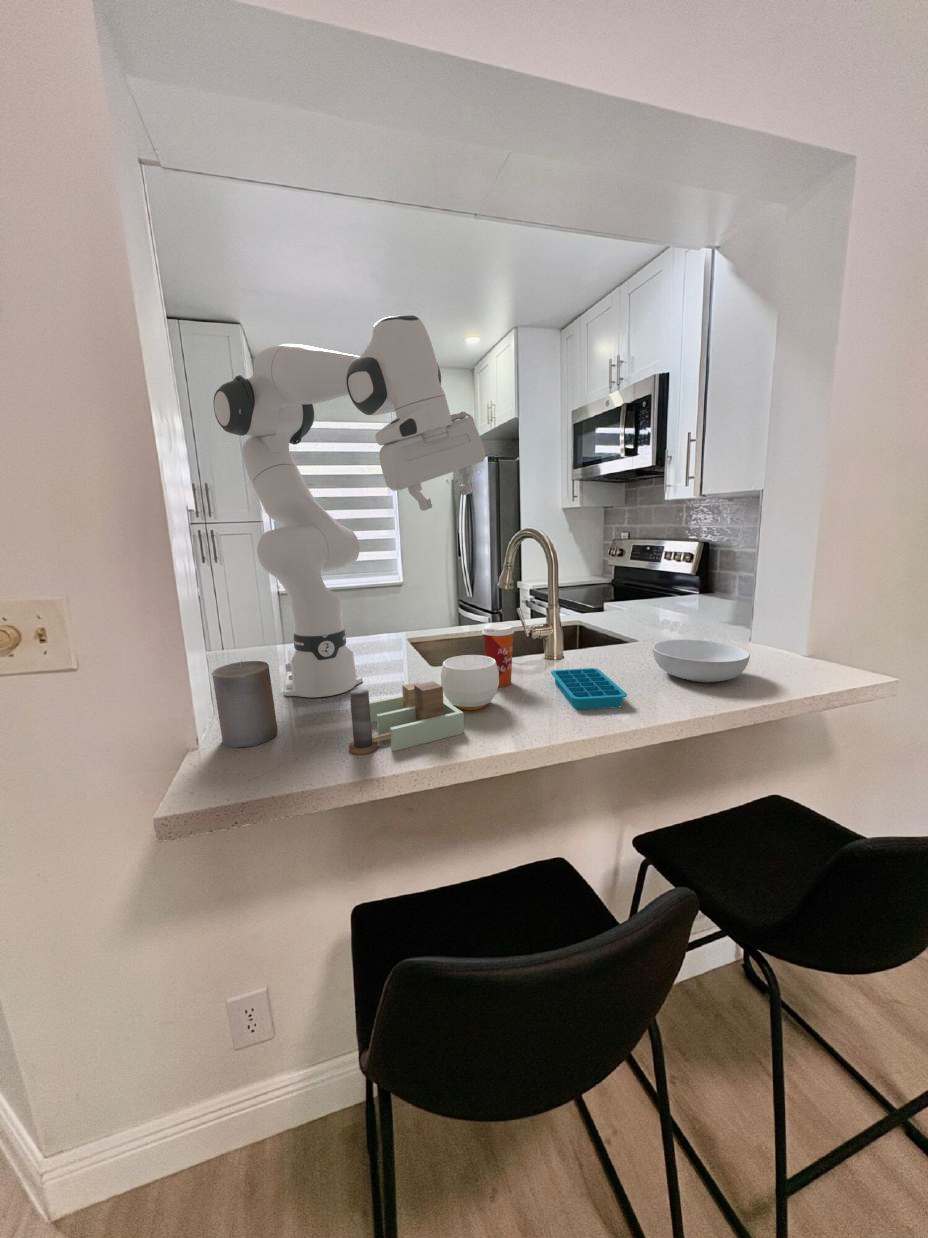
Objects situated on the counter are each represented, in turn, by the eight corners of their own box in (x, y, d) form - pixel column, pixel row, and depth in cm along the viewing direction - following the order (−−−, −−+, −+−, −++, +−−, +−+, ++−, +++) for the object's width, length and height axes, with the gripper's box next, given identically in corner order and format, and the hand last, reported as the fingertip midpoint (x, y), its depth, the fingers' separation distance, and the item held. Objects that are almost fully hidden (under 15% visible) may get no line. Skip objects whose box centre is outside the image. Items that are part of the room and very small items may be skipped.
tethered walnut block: (345, 746, 88) (340, 690, 86) (434, 724, 97) (431, 673, 95) (353, 757, 84) (348, 699, 82) (446, 733, 92) (443, 680, 90)
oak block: (404, 718, 100) (402, 685, 99) (420, 714, 102) (418, 682, 101) (410, 724, 97) (408, 690, 96) (427, 720, 99) (425, 686, 98)
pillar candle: (261, 722, 101) (252, 651, 98) (287, 734, 94) (277, 658, 92) (213, 740, 94) (200, 663, 91) (237, 754, 87) (225, 672, 84)
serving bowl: (727, 698, 105) (729, 666, 104) (635, 678, 120) (636, 650, 119) (761, 675, 119) (763, 647, 117) (675, 660, 134) (676, 635, 133)
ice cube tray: (572, 713, 101) (572, 699, 100) (549, 682, 120) (549, 670, 120) (628, 709, 101) (629, 695, 101) (596, 679, 121) (596, 667, 120)
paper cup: (506, 690, 115) (505, 631, 112) (477, 685, 119) (475, 628, 116) (520, 680, 121) (519, 624, 118) (493, 676, 125) (491, 622, 123)
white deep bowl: (448, 694, 113) (446, 653, 111) (502, 696, 111) (501, 654, 109) (436, 715, 101) (434, 670, 99) (496, 717, 99) (495, 670, 97)
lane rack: (365, 722, 99) (364, 703, 98) (429, 707, 106) (428, 689, 105) (393, 751, 86) (391, 729, 85) (464, 732, 92) (463, 712, 91)
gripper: (459, 412, 92) (478, 486, 97) (366, 437, 81) (392, 519, 86) (481, 405, 87) (500, 484, 92) (385, 431, 76) (411, 518, 81)
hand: (447, 501), depth 89 cm, fingers open, 8 cm apart
